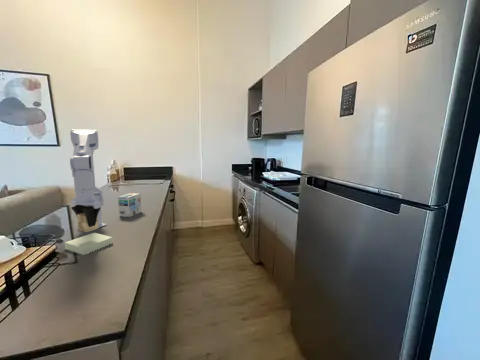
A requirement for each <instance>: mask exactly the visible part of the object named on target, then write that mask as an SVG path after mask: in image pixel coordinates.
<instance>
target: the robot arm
mask: <svg viewBox="0 0 480 360" xmlns="http://www.w3.org/2000/svg"><path fill="white" fill-rule="evenodd" d="M98 132H99V131H98V130H97V129H74V128H72V129H70V141H71V143H72V146H73V153H72V157H69V158H70V159H69V165H70V169H71V173H72V177H73V182H74V183H73V185H74V194H75V198H71V199H70V202H71V205H73V206H71V207H70V208H71V210H72V211H73V212H74V215H75V216H76V218H77V219H78V217H77V214H81V213H85V215H86V218H87V223H88V226H89V227H92V226H95V224H96V219H97V218H98V229H99V228H102V227H105V226H107V225H108V224H107V223H104V222H103V217H102V207H103V206H104V205H105V204H104V200H105V199H104V193H103V190H102V189H101V188H100V187H98V186H96V179H95V165H94V163H95V162H94V152H95V150H98V149H99V134H98Z"/></svg>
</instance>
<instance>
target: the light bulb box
mask: <svg viewBox="0 0 480 360" xmlns="http://www.w3.org/2000/svg"><path fill="white" fill-rule="evenodd" d="M117 201H118V213H119V215H118V216H119V217H123V218H124V217H125V218H130V217H133V216H135V215H137V214H140V213H142V196H141V193H138V192H136V193H135V192H129V193H126V194H123V195H119V196H118V197H117Z"/></svg>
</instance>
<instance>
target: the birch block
mask: <svg viewBox="0 0 480 360" xmlns="http://www.w3.org/2000/svg"><path fill="white" fill-rule="evenodd" d="M77 217H78V218H77ZM76 218H77V225H78V226H77V227H78V231H80V232H84V233H88V232H91V231H94V230H98V229H99V228H98V218H97V219H96V224H95V226H92V227H89V226H88V223H87V218H86V215H85V213H81V214H77V215H76Z"/></svg>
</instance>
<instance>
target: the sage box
mask: <svg viewBox="0 0 480 360" xmlns="http://www.w3.org/2000/svg"><path fill="white" fill-rule="evenodd" d="M113 241H114V240H113V237H112V236H108V235H106V234H101V233H97V232H92V233H89V234H86V235H83V236H80V237H77V238H74V239H71V240H69V241H64V247H65V248H64V249H65V250H66V251H70V252H73V253H76V254H79V255H82V256H85V254H86V255H88V254H90V252H91V253H93V252H96V251H98V250H100V248H101V249H103V248H105V246H106V247H107V245H108V246H110V245H109V244H111V245H113V244H114V242H113ZM112 243H113V244H112ZM102 247H103V248H102ZM97 249H98V250H97ZM95 250H96V251H95ZM92 251H93V252H92Z"/></svg>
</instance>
